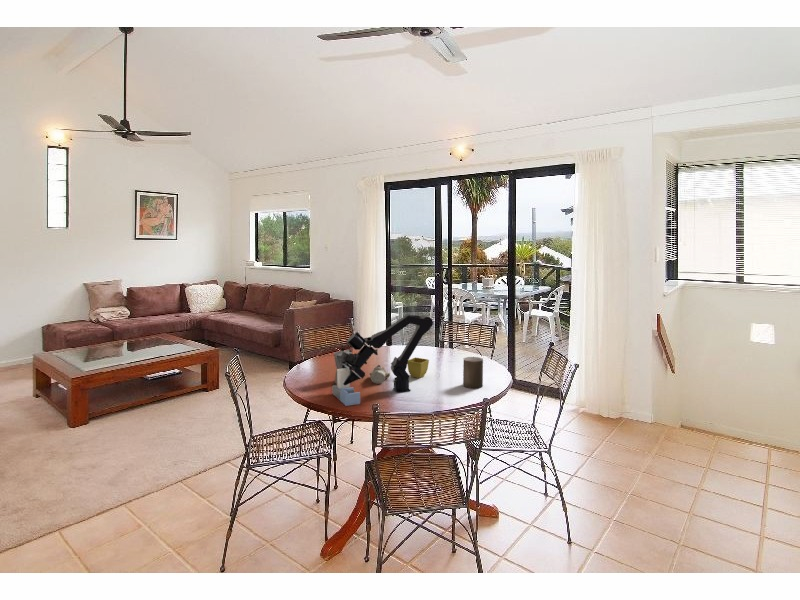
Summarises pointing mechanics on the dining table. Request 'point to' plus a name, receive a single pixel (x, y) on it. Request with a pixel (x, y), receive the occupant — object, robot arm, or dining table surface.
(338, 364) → the coffeepot
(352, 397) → the light blue notched block
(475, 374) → the pillar candle
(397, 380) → the robot arm
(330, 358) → the dining table surface
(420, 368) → the flower pot
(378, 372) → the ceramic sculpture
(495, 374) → the dining table surface
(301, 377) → the dining table surface
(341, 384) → the plug post
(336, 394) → the blue open box
